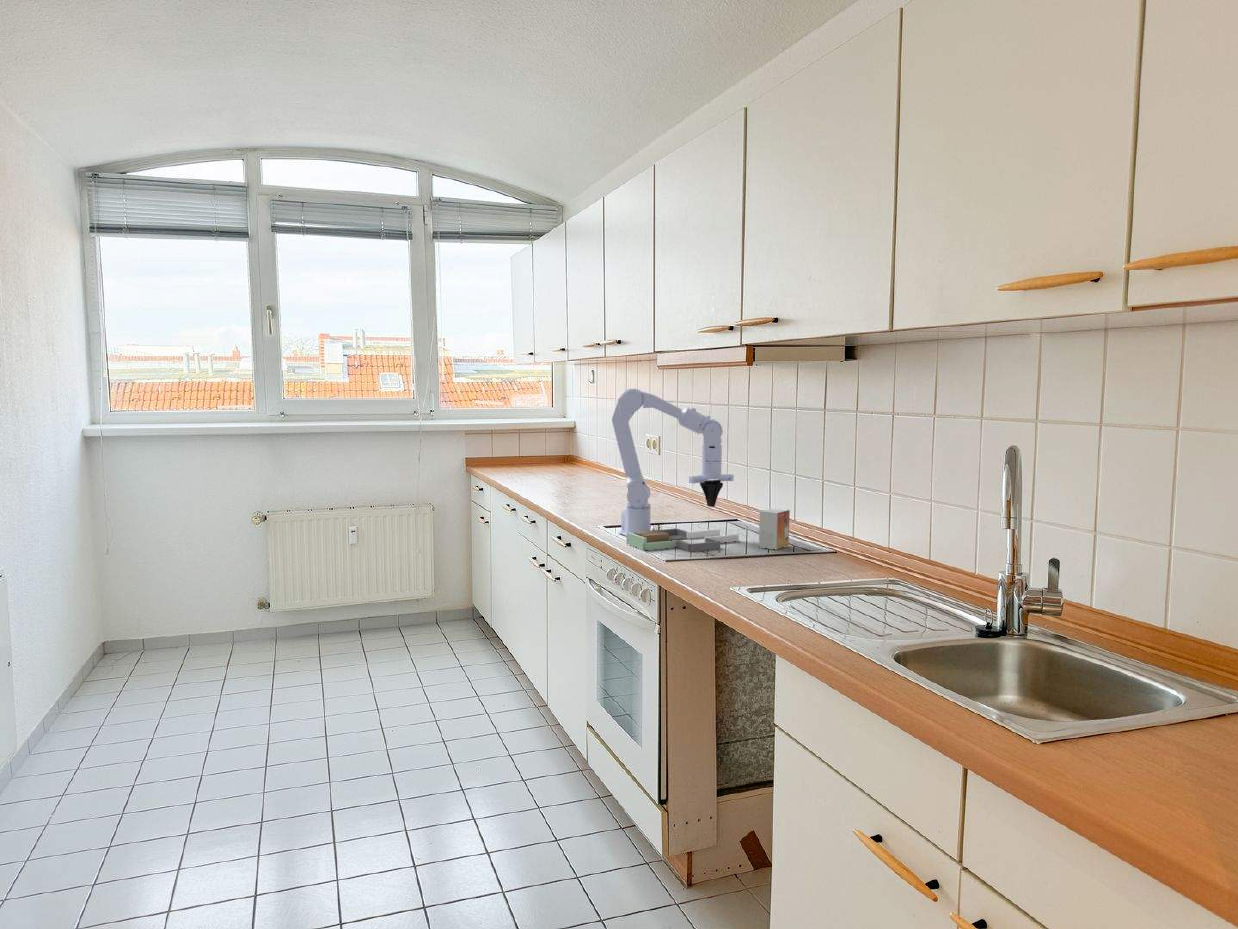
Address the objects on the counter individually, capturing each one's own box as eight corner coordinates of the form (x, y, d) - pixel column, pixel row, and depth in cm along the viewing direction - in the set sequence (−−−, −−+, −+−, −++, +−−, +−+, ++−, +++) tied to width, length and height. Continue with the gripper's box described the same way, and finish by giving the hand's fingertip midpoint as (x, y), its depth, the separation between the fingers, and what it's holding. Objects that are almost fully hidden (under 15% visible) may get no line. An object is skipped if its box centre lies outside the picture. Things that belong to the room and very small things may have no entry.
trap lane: (616, 540, 246) (616, 528, 245) (706, 532, 260) (706, 520, 260) (655, 555, 225) (656, 542, 225) (751, 545, 240) (752, 533, 240)
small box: (776, 550, 233) (777, 513, 232) (758, 548, 236) (759, 511, 235) (789, 546, 239) (790, 509, 238) (771, 543, 242) (772, 507, 241)
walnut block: (633, 546, 239) (633, 532, 239) (658, 543, 243) (658, 530, 242) (643, 550, 234) (644, 535, 233) (668, 547, 237) (668, 533, 237)
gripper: (698, 463, 242) (697, 509, 244) (739, 460, 249) (739, 506, 250) (685, 460, 248) (684, 506, 250) (726, 458, 255) (725, 503, 256)
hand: (711, 506), depth 250 cm, fingers closed
